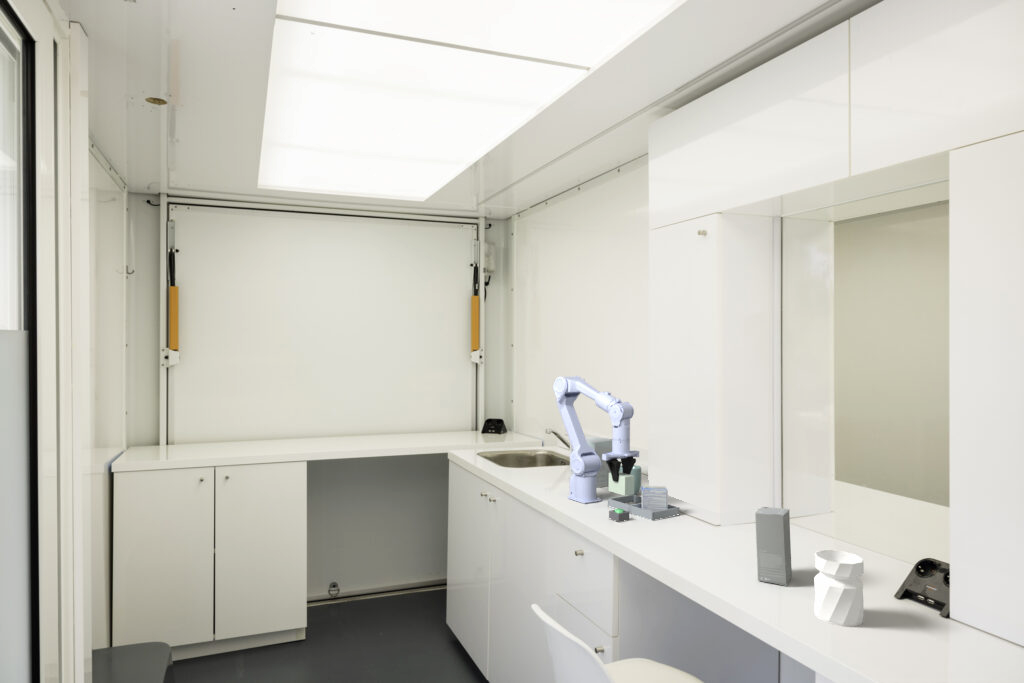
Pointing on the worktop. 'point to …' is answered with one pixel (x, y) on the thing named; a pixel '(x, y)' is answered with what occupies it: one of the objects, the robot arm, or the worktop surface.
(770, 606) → the worktop surface
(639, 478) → the cup
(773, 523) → the skincare box
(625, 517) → the button housing
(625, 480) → the carton
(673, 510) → the grey divided tray
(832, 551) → the white faceted vase
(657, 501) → the medicine box
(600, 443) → the supplement box
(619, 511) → the button
